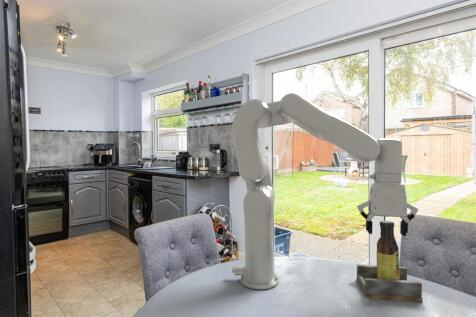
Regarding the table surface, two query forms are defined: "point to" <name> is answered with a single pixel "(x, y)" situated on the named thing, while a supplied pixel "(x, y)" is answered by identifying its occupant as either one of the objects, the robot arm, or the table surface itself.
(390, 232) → the sauce bottle
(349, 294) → the table surface
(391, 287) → the bottle track
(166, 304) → the table surface
